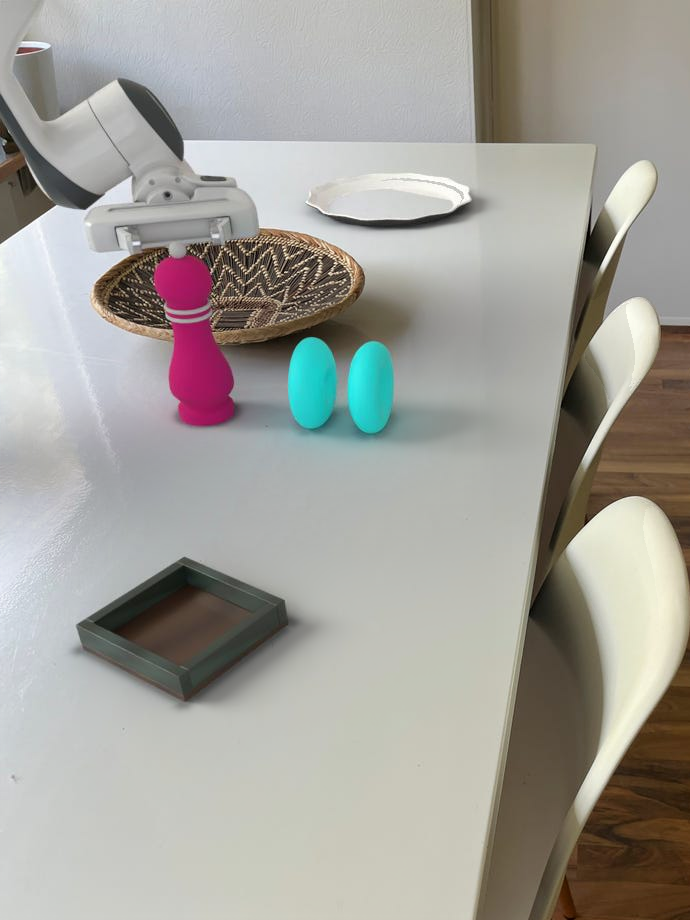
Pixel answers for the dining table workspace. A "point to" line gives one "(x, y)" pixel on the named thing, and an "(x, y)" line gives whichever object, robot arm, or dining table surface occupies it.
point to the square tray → (183, 627)
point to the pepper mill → (194, 340)
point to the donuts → (318, 385)
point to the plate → (345, 186)
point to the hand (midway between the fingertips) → (176, 243)
